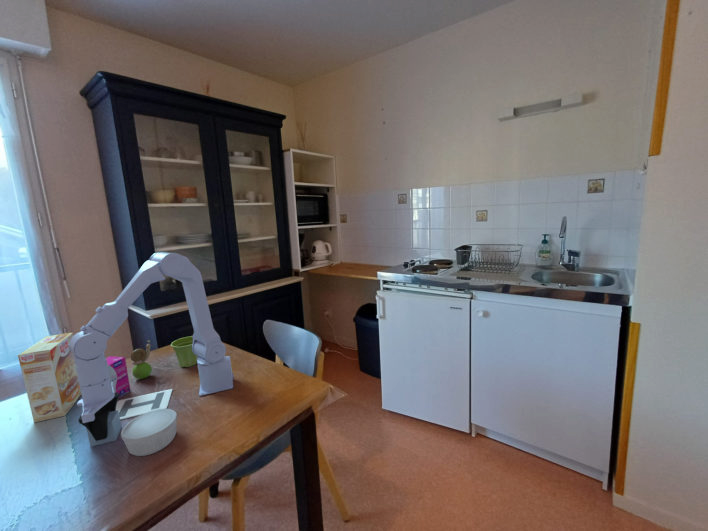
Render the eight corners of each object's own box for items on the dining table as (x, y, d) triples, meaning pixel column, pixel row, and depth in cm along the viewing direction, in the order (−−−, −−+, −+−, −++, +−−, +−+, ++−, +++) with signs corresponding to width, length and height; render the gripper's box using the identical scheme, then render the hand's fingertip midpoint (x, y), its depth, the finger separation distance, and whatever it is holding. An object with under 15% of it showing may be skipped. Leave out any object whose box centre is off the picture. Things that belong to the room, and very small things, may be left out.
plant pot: (208, 362, 117) (204, 339, 115) (180, 372, 110) (176, 349, 108) (196, 355, 123) (193, 334, 121) (170, 365, 116) (166, 342, 114)
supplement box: (114, 401, 94) (107, 365, 92) (98, 400, 95) (90, 364, 93) (131, 390, 100) (125, 356, 98) (116, 389, 101) (109, 355, 99)
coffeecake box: (65, 416, 88) (50, 349, 85) (32, 423, 86) (15, 355, 83) (86, 389, 102) (73, 331, 99) (57, 395, 99) (44, 336, 96)
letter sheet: (172, 389, 99) (172, 388, 99) (166, 409, 89) (166, 408, 89) (118, 401, 94) (118, 400, 94) (106, 423, 84) (105, 422, 84)
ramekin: (127, 437, 78) (123, 418, 77) (179, 421, 83) (176, 402, 83) (121, 468, 68) (117, 446, 68) (180, 447, 74) (177, 426, 73)
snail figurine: (159, 374, 109) (153, 341, 107) (138, 383, 104) (132, 348, 102) (151, 371, 112) (145, 338, 110) (130, 379, 107) (124, 345, 105)
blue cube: (121, 427, 82) (118, 410, 81) (115, 440, 77) (111, 421, 76) (98, 433, 80) (94, 415, 79) (90, 446, 76) (86, 427, 75)
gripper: (86, 370, 81) (96, 419, 84) (59, 400, 68) (72, 457, 70) (119, 364, 84) (128, 411, 86) (99, 392, 71) (110, 447, 73)
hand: (105, 431), depth 78 cm, fingers closed on blue cube, 5 cm apart
